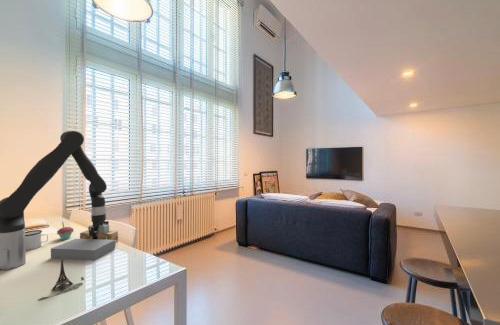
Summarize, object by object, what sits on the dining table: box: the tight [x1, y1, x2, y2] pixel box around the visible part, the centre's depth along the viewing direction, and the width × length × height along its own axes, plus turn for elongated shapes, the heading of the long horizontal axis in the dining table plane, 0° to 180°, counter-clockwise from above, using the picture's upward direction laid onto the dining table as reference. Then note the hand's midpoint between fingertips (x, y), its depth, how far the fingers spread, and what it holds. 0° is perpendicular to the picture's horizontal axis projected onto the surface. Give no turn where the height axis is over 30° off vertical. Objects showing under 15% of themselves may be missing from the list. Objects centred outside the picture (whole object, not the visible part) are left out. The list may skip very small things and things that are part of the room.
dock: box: [50, 238, 117, 261], centre depth 126 cm, size 16×25×5 cm, turn 84°
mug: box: [25, 229, 49, 251], centre depth 135 cm, size 12×10×9 cm
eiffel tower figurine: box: [37, 258, 85, 302], centre depth 91 cm, size 15×10×13 cm
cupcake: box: [56, 220, 74, 240], centre depth 150 cm, size 9×8×12 cm
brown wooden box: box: [79, 229, 119, 243], centre depth 142 cm, size 21×6×6 cm, turn 84°
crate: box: [98, 224, 110, 233], centre depth 141 cm, size 4×4×4 cm
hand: (99, 240), depth 142 cm, fingers closed on brown wooden box, 5 cm apart
